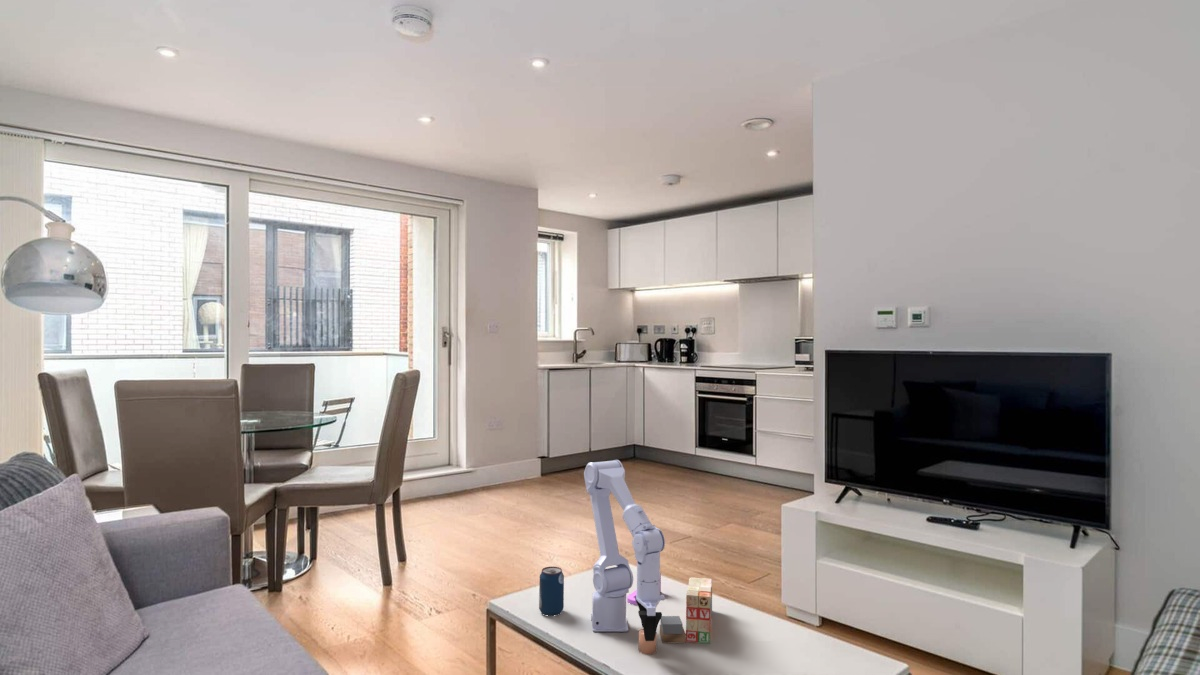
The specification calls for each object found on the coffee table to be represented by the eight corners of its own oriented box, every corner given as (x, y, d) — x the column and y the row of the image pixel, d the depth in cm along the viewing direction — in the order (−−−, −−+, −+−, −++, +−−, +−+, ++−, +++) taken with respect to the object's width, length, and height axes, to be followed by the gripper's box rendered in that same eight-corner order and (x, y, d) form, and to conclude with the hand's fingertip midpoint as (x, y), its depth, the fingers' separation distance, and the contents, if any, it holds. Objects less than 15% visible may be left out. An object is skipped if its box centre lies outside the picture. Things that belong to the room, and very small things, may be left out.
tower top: (663, 634, 165) (663, 624, 165) (660, 625, 170) (660, 616, 170) (682, 634, 165) (682, 624, 165) (679, 625, 170) (679, 616, 170)
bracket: (644, 589, 201) (645, 566, 201) (660, 592, 198) (660, 570, 198) (623, 602, 190) (623, 579, 190) (640, 607, 187) (640, 583, 187)
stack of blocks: (690, 609, 186) (690, 566, 186) (712, 611, 185) (712, 568, 185) (685, 642, 165) (686, 593, 165) (710, 644, 164) (710, 596, 164)
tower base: (662, 644, 164) (662, 634, 164) (659, 634, 170) (659, 624, 170) (685, 644, 164) (685, 634, 164) (681, 634, 170) (682, 624, 170)
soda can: (568, 611, 183) (569, 569, 183) (551, 619, 177) (552, 576, 178) (551, 605, 187) (551, 564, 187) (533, 612, 182) (534, 570, 182)
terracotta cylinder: (639, 654, 158) (639, 636, 158) (638, 646, 162) (638, 628, 162) (657, 654, 158) (657, 636, 158) (655, 646, 162) (655, 628, 162)
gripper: (668, 589, 153) (668, 646, 153) (660, 568, 168) (660, 621, 168) (638, 589, 153) (638, 646, 153) (633, 568, 168) (633, 621, 167)
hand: (648, 633), depth 160 cm, fingers open, 7 cm apart
